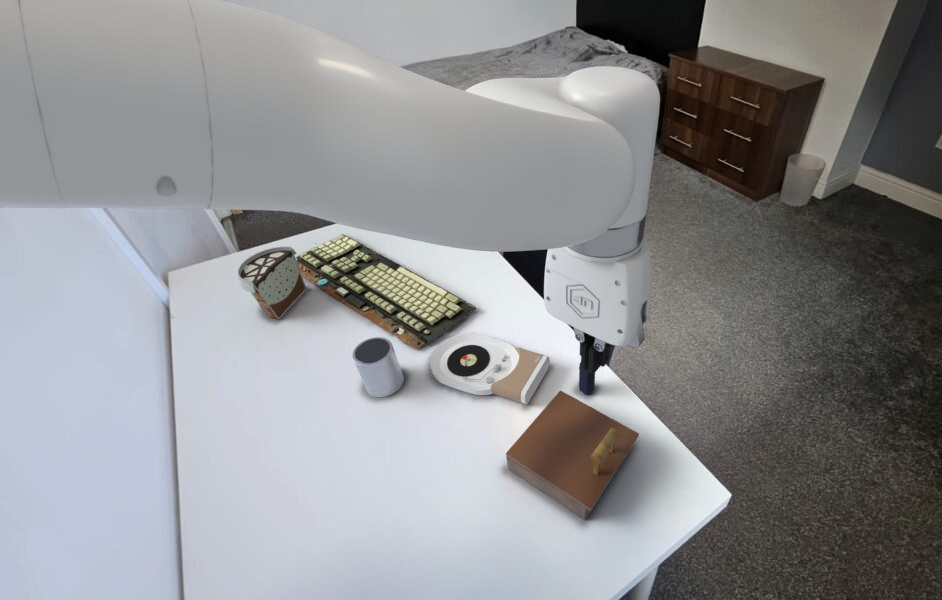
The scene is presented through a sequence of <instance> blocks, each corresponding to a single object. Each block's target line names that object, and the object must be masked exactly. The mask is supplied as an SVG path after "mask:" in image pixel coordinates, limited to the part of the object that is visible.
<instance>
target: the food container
mask: <svg viewBox="0 0 942 600" xmlns="http://www.w3.org/2000/svg"><path fill="white" fill-rule="evenodd" d="M295 255H297V252H296V250H295V249H294V248H293V247H292V246H276V247H272V248H267V249H263V250H261V251H259V252H256V253H254V254H252V255H251V256H248V257H247V258H246V259H245V260H243V262H242V263H241V264H240V265H239V267H238V269H237V279H238V282H239V285H240V287H241V289H243V290H244V291H246V292H249V293H250V294H251V296H252V297H253V299H255V301H256V302H257V303H258V305H259V306H260V308H261V309H262V310H263V311H264V313H265V314H266V315H267V317H269V318H270V319H273V320H275V321H279V320H280V319H281V318H282V317H283V316H284V315H285V314H286V313H287V312H288V310H289V309H290V308H291V307H292V306H293V305H294V304H295V303H296V302H297V301H298V300H299V299H300V297H301V296H302V295H304V293H305V292H306V291H307V290H308V288H307V285H306V283H305V280H304V277H302V275H301V272H300V269H299V266H298V264H297V258H296V256H295Z"/></svg>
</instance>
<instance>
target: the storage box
mask: <svg viewBox="0 0 942 600" xmlns="http://www.w3.org/2000/svg"><path fill="white" fill-rule="evenodd" d="M505 459H506V465H507V470H508V471H510V473H512V474H514V475H515V476H517V477H519V479H521V480H523V481H525V483H527V484H529V485H530V486H532V487H534V488H535V489H537V490H538V491H540V492H541V493H542V494H544V495H545V496H547V497H548V498H550V499H552V500H553V501H554V502H556V503H558V504H559V505H561V506H562V507H563V508H565V509H567V510H568V511H570V512H571V513H573V514H574V515H575V516H577V517H578V518H580V519H581V520H583V521H585V520H586V519H587V517H588V516H589V515H590V513H591V511H589V510H588V509H586V508H585V507H583V506H582V505H580V504H579V503H577V502H576V501H574V500H573V499H571V498H569V497H568V496H566V495H565V494H563V493H562V492H560V491H559V490H557V489H556V488H554V487H553V486H551V485H550V484H548V483H546V482H545V481H543V480H542V479H540V478H539V477H537V476H536V475H534V474H533V473H531V472H530V471H528V470H526V469H525V468H523V467H522V466H520V465H519V464H517V463H516V462H514V461H513V460H511V459H510V458H508V457H507V456H506V455H505Z"/></svg>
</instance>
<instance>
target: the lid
mask: <svg viewBox="0 0 942 600" xmlns="http://www.w3.org/2000/svg"><path fill="white" fill-rule="evenodd" d="M639 435H640V433H639V432H638V431H635V430H634V429H632V428H630V427H628V426H626V425H624V424H622V423H621V422H619V421H618V420H615V419H613V418H612V417H610V416H608V415H606V414H604V413H602V412H601V411H599V410H597V409H595V408H594V407H592V406H590V405H588V404H586V403H584V402H582V401H580V400H579V399H577V398H576V397H574V396H572V395H570V394H568V393H566V392H564V391H563V390H559V391H558V392H557V393H556V395H555V396H554V397H553V398H552V399H551V400H550V402H549V403H548V404H546V406H545V407H544V409H542V411H541V412H540V413H539V414H538V416H536V418H535V419H533V421H532V423H530V425H529V426H528V427H527V428H526V429H525V431H524V432H523V433H522V434H521V435H520V436H519V437H518V438H517V440H516V441H515V442H514V443H513V444H512V445H511V447H510V448H509V449H508V450H507V451H506V453H505V457H506V456H507V457H508V458H510V459H511V460H513V461H514V462H516V463H517V464H519V465H520V466H522V467H523V468H525V469H526V470H528V471H530V472H531V473H533V474H534V475H536V476H537V477H539V478H540V479H542V480H543V481H545V482H546V483H548V484H550V485H551V486H553V487H554V488H556V489H557V490H559V491H560V492H562V493H563V494H565V495H566V496H568V497H569V498H571V499H573V500H574V501H576V502H577V503H579V504H580V505H582V506H583V507H585V508H586V509H588V510H589V511H590V512H591V511H592V510H593V508H594V507H595V505H596V503H597V502H598V500H599V499H600V498H601V496H602V494H603V493H604V491H605V490H606V488H607V486H608V485H609V483H610V482H611V481H612V479H613V477H614V475H615V474H616V473H617V472H618V469H619V468H620V466H621V464H622V463H623V461H624V460H625V458H626V457H627V455H628V454H629V452H630V451H631V449H632V447H633V446H634V445H635V443H636V441H637V439H638V438H639Z"/></svg>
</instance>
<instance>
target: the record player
mask: <svg viewBox="0 0 942 600" xmlns="http://www.w3.org/2000/svg"><path fill="white" fill-rule="evenodd" d="M550 362H551V361H550V357H549V355H546V354H542V353H539V352H535V351H532V350H529V349H525V348H523V347H518V346H517V347H516V348H515V346H514V345H512V344H511V343H508V342H506V341H504V340H501V339H498V338H494V337H491V336H487V335H485V334H481V333H477V332H476V333H475V332H464V333H458V334H456V335H453V336H450V337H449V338H446V339H444V340H443V341H442V342H441V343H440V344H438V345H437V346H436V348H435V349H434V350H433V351H432V354H431V356H430V360H429V365H430V369H431V373H432V375H433V377H434V378H435V380H436V381H437V382H439V383H440V384H442V385H445V386H446V387H449V388H451V389H452V388H453V389H455V390H457V391H461V392H464V393H468V394H470V395H475V396H489V395H497V396H500V397H503V398H506V399H509V400H512V401H514V402H517V403H521V404H523V405H528V404H529V402H530V401H531V399H532V398H533V396H534V394H535V392H536V391H537V389H538V387H539V385H540V384H541V383H542V381H543V379H544V377H545V375H546V374H547V372H548V370H549V368H550Z"/></svg>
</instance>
